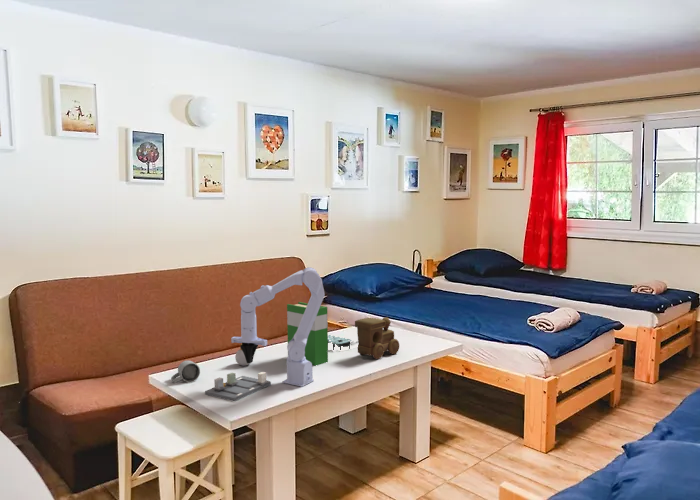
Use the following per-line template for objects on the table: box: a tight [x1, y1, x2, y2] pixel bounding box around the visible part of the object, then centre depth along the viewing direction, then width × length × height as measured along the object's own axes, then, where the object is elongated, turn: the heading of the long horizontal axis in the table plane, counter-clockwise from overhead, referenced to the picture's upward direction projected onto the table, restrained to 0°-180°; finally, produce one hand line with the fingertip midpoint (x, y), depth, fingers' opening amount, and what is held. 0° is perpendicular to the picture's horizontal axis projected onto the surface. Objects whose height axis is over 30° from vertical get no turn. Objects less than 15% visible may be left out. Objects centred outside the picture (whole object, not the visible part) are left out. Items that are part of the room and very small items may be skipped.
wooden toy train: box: [354, 317, 400, 360], centre depth 248 cm, size 20×11×17 cm, turn 135°
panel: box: [204, 375, 272, 402], centre depth 205 cm, size 14×20×2 cm
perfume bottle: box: [235, 336, 259, 367], centre depth 236 cm, size 8×10×12 cm
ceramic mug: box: [170, 360, 201, 383], centre depth 216 cm, size 10×8×7 cm
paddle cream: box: [256, 371, 269, 385], centre depth 207 cm, size 4×3×4 cm
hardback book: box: [286, 301, 329, 367], centre depth 241 cm, size 18×7×24 cm, turn 47°
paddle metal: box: [211, 377, 226, 391], centre depth 201 cm, size 4×3×4 cm
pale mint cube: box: [224, 372, 238, 386], centre depth 206 cm, size 4×3×4 cm
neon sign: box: [328, 334, 353, 352], centre depth 270 cm, size 21×4×29 cm
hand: (249, 362), depth 210 cm, fingers closed
